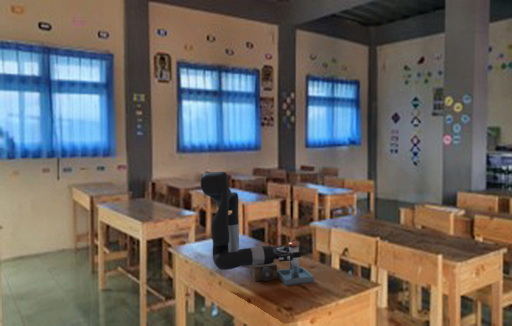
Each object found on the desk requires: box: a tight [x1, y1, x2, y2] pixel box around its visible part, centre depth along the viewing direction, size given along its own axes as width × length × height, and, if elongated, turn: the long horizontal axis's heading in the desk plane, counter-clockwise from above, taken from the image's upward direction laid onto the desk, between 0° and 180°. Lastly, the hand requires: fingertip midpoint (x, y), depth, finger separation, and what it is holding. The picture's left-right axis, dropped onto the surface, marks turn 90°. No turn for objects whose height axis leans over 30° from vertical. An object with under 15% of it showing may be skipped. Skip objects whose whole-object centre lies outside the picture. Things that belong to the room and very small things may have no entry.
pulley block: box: [248, 262, 278, 282], centre depth 181 cm, size 12×10×6 cm
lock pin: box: [287, 240, 300, 279], centre depth 177 cm, size 5×5×15 cm
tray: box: [277, 266, 315, 287], centre depth 177 cm, size 13×13×2 cm
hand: (297, 251), depth 177 cm, fingers open, 8 cm apart
